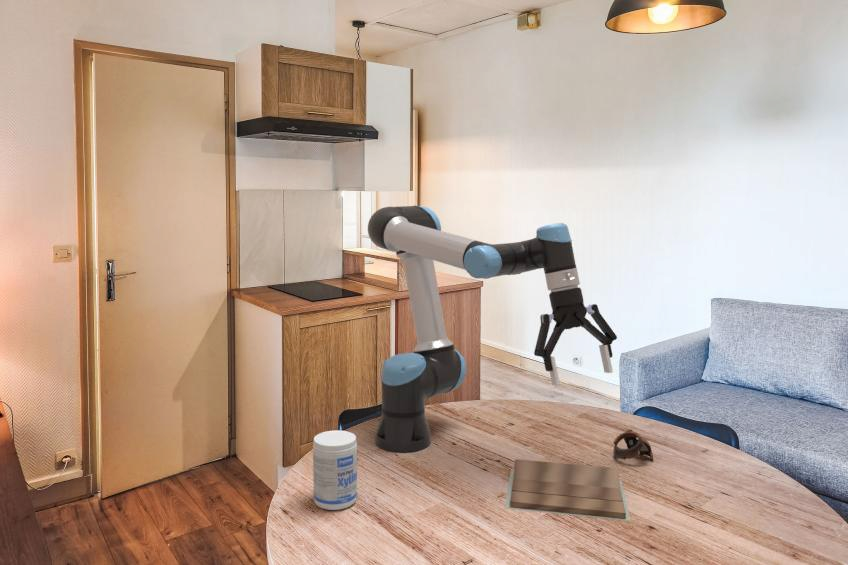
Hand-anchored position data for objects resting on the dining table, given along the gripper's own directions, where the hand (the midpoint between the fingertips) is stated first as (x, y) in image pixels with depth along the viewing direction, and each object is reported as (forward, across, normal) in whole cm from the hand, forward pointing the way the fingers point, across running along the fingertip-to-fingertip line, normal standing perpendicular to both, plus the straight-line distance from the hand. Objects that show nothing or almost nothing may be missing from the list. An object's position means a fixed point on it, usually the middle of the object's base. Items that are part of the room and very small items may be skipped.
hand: (582, 378), depth 150 cm
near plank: (+24, -10, -2) cm, 26 cm away
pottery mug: (+25, +16, +14) cm, 33 cm away
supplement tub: (+15, -61, +6) cm, 63 cm away
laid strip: (+26, -13, -7) cm, 29 cm away
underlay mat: (+24, -10, -1) cm, 27 cm away
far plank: (+22, -8, +4) cm, 23 cm away
